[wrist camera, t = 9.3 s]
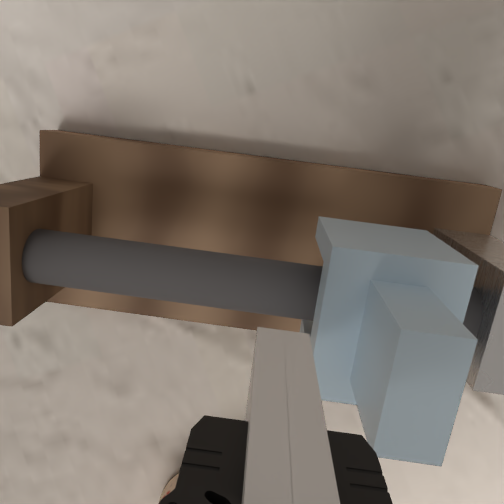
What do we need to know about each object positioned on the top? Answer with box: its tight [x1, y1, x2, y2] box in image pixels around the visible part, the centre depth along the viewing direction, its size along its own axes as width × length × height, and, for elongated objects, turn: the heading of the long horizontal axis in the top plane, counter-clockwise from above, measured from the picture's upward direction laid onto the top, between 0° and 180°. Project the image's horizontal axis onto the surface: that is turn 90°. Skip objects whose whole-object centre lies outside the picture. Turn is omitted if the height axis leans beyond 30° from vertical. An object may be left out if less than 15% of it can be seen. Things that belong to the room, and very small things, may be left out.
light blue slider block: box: [300, 216, 479, 466], centre depth 17 cm, size 5×6×10 cm
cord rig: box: [0, 130, 504, 395], centre depth 22 cm, size 25×10×10 cm, turn 83°
